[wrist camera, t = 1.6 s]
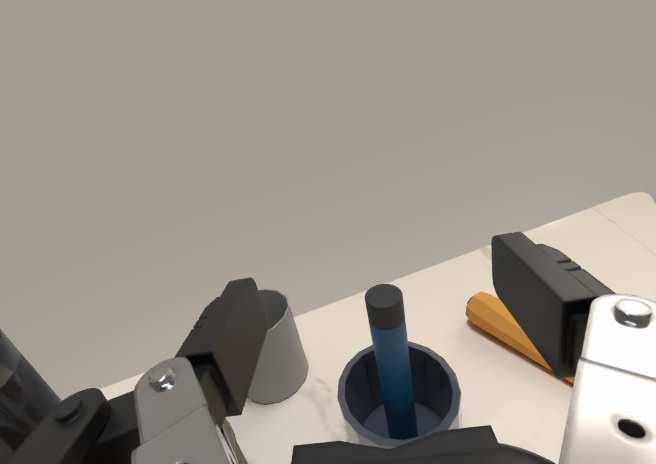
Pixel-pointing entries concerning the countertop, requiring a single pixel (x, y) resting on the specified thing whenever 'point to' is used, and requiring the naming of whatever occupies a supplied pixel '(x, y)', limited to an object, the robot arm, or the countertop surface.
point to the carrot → (502, 325)
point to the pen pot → (428, 388)
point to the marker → (392, 359)
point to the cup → (278, 353)
